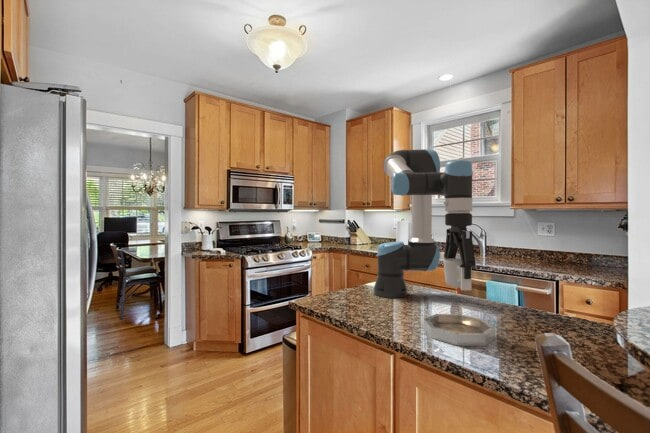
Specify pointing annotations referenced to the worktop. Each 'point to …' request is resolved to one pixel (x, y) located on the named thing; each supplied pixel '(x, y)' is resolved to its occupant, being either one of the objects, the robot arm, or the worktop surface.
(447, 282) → the cup
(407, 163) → the robot arm
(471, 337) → the octagonal tray
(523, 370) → the worktop surface
